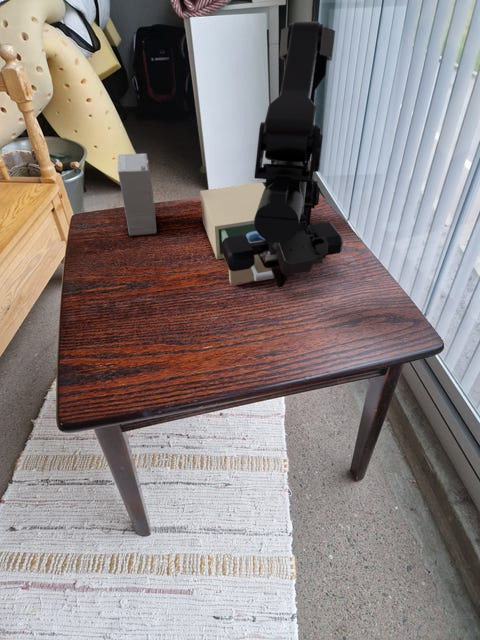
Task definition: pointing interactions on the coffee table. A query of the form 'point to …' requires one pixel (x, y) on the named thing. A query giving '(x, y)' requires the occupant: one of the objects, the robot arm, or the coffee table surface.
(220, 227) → the cabinet
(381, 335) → the coffee table surface
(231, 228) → the drawer
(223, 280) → the coffee table surface
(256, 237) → the jar
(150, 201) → the cosmetic box
